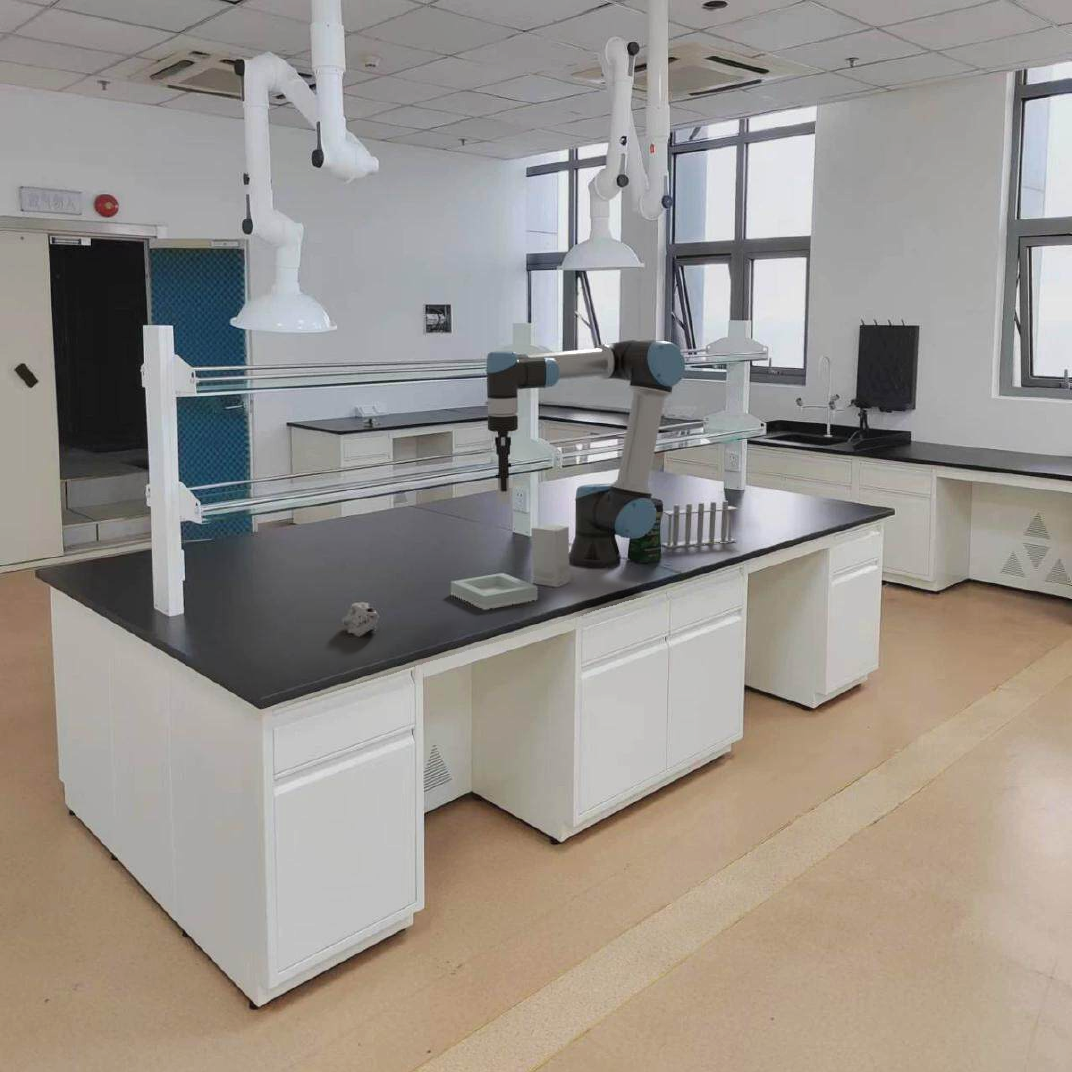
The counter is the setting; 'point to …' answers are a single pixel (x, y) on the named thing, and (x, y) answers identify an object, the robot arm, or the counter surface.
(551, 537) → the skincare box
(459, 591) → the square shallow tray
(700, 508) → the test tube rack
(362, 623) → the skull
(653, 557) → the coffee jar
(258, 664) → the counter surface
